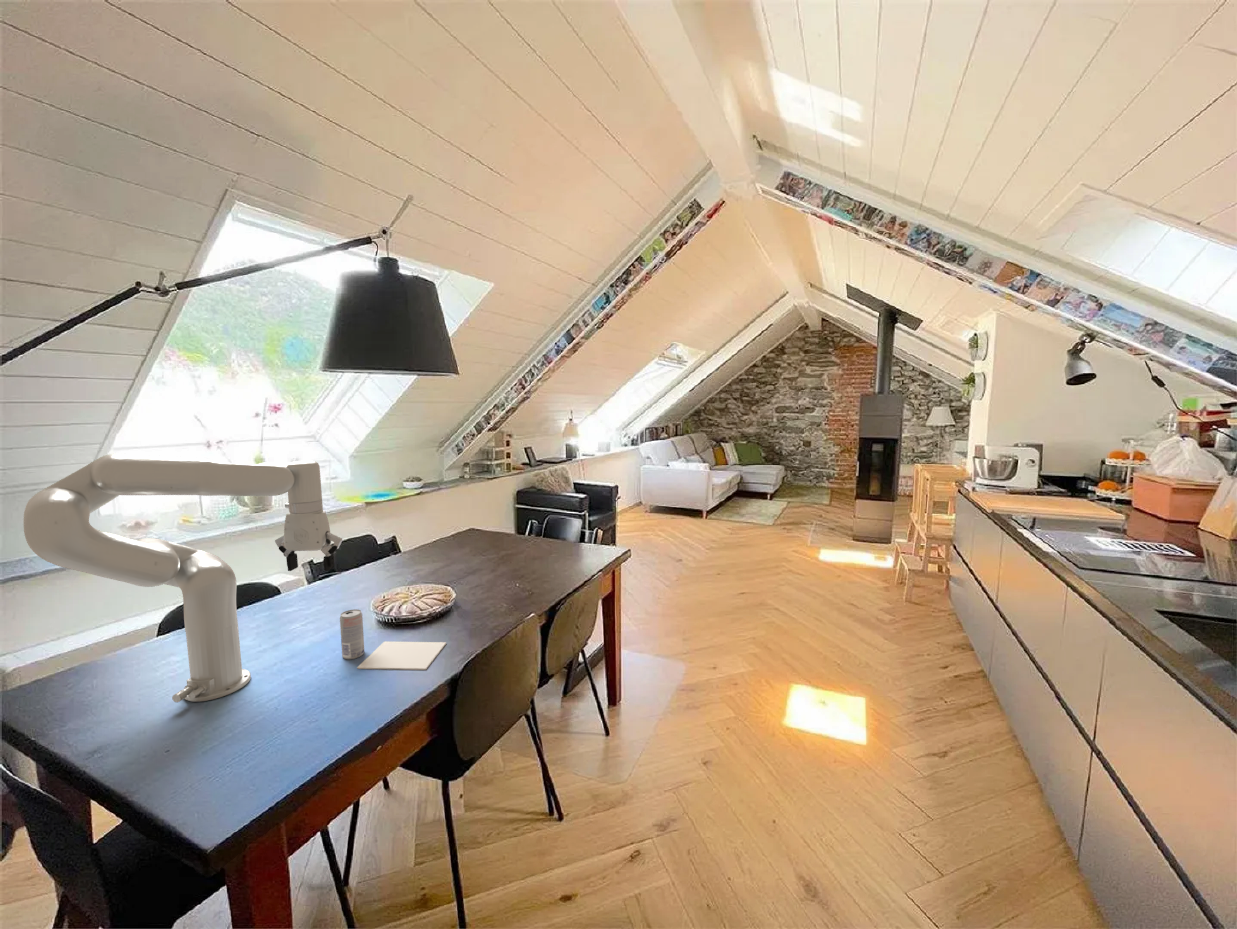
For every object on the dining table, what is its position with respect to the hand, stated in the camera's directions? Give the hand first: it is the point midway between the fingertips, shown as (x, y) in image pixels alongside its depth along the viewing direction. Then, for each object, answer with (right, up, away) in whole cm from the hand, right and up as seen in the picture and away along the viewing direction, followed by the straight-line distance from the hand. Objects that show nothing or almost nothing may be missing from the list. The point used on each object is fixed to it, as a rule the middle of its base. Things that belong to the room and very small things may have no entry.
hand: (311, 569), depth 130 cm
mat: (+24, -24, +2) cm, 34 cm away
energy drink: (+10, -24, +2) cm, 26 cm away
